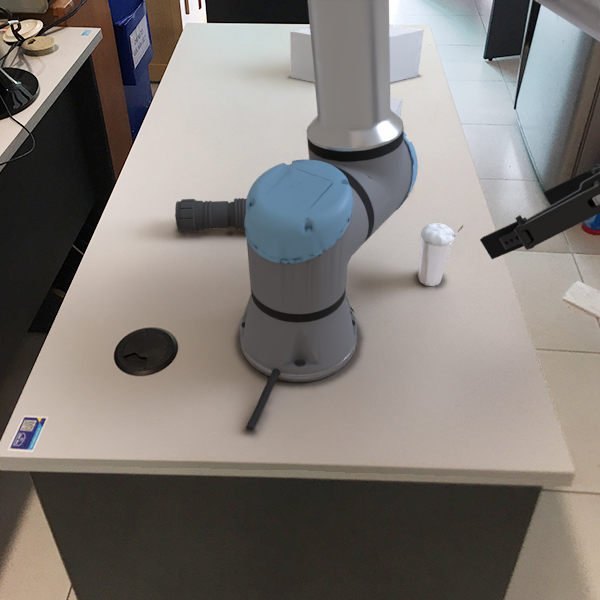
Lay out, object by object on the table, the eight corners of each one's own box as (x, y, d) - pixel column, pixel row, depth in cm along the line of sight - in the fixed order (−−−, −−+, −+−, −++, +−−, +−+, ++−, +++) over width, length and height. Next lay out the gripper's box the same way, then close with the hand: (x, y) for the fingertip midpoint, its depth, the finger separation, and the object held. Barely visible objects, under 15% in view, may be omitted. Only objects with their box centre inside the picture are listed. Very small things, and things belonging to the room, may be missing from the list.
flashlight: (176, 240, 98) (171, 211, 95) (179, 220, 102) (174, 191, 99) (274, 237, 99) (273, 208, 95) (273, 217, 103) (272, 188, 99)
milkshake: (450, 292, 89) (463, 235, 83) (412, 287, 90) (421, 230, 83) (451, 272, 93) (463, 216, 86) (415, 267, 94) (423, 211, 87)
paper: (290, 64, 148) (289, 19, 142) (412, 63, 149) (418, 18, 142) (291, 91, 138) (290, 43, 131) (423, 89, 138) (429, 42, 131)
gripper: (651, 238, 51) (475, 299, 70) (763, 132, 64) (588, 207, 82) (604, 160, 51) (440, 241, 70) (725, 68, 63) (558, 158, 82)
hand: (520, 223), depth 76 cm, fingers open, 13 cm apart
